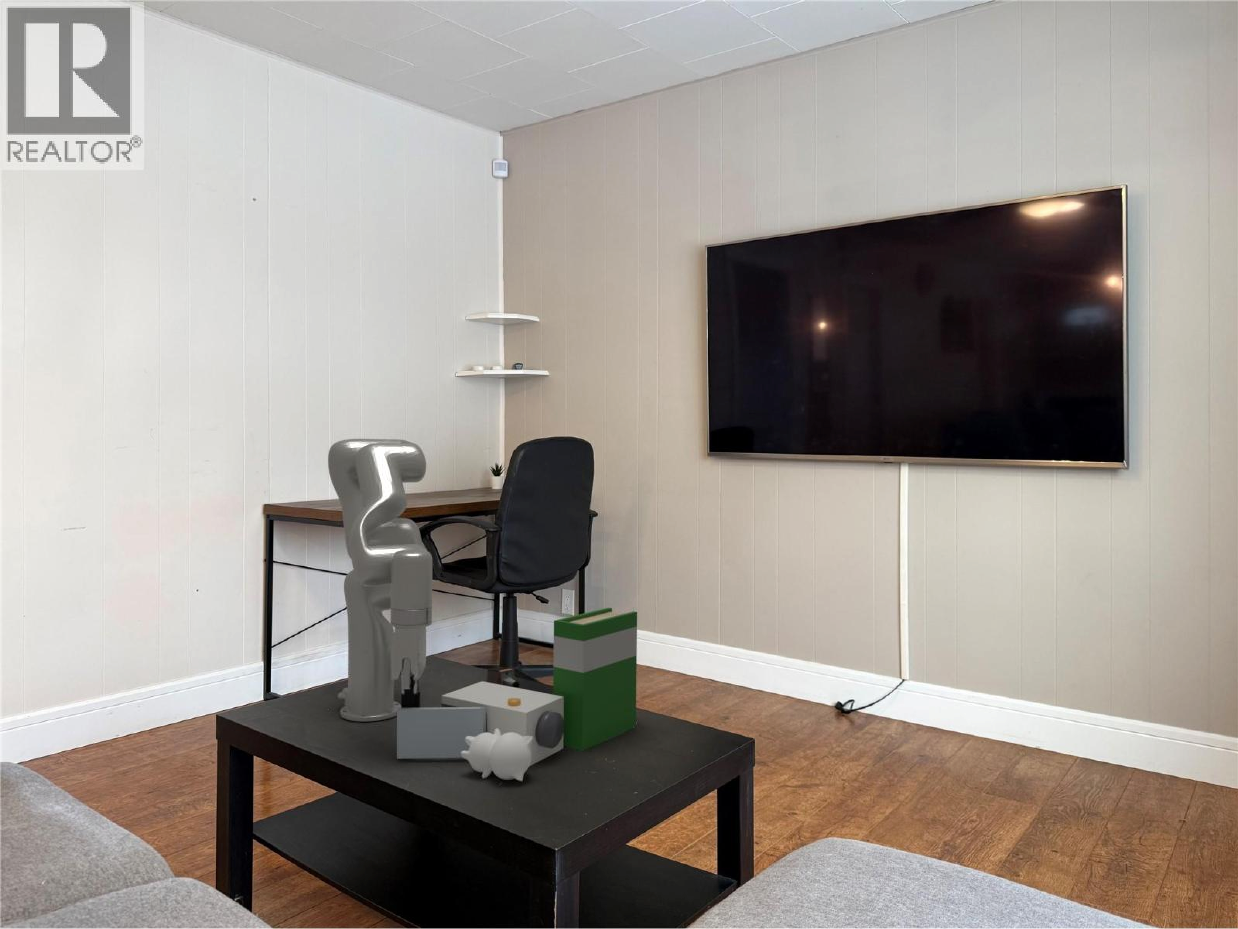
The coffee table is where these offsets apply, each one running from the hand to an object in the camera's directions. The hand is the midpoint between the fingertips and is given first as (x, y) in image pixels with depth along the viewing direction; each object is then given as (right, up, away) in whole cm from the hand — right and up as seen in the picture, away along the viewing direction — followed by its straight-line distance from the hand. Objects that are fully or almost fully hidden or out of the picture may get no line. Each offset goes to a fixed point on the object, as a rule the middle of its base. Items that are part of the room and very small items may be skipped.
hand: (410, 713), depth 165 cm
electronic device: (+13, -7, +34) cm, 37 cm away
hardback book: (+34, -8, +12) cm, 37 cm away
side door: (+6, -7, -2) cm, 10 cm away
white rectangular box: (+17, -8, +4) cm, 19 cm away
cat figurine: (+18, -8, -9) cm, 22 cm away
